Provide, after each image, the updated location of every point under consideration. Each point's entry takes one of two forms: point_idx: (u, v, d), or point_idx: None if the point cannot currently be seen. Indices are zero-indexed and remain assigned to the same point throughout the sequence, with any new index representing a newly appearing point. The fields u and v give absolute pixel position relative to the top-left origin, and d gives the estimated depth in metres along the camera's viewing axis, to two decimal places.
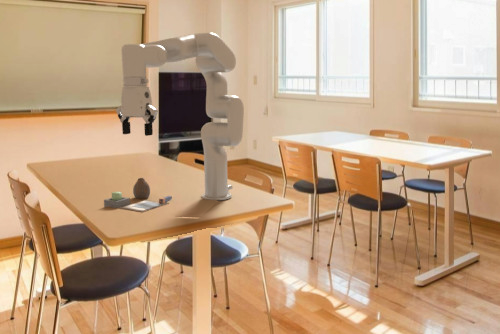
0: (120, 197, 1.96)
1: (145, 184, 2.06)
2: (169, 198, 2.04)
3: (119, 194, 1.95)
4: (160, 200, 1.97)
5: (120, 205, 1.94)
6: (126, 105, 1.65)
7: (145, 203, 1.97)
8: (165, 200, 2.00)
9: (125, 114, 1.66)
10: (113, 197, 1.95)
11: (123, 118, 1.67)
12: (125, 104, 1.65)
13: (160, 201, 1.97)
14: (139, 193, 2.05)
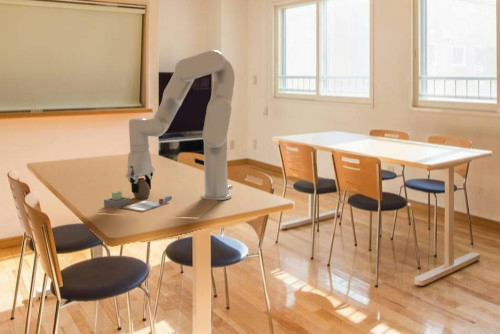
0: (120, 197, 1.96)
1: (145, 184, 2.06)
2: (169, 198, 2.04)
3: (119, 194, 1.95)
4: (160, 200, 1.97)
5: (120, 205, 1.94)
6: (141, 167, 2.04)
7: (145, 203, 1.97)
8: (165, 200, 2.00)
9: (139, 174, 2.04)
10: (113, 197, 1.95)
11: (136, 179, 2.04)
12: (140, 166, 2.03)
13: (160, 201, 1.97)
14: (139, 193, 2.05)
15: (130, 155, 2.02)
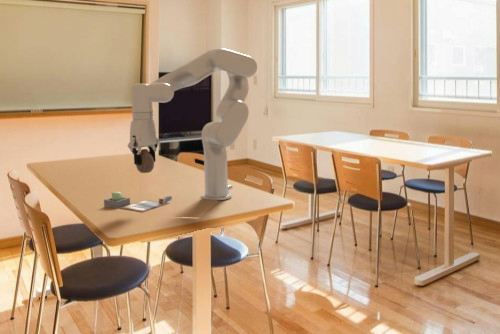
0: (120, 197, 1.96)
1: (148, 155, 1.90)
2: (169, 198, 2.04)
3: (119, 194, 1.95)
4: (160, 200, 1.97)
5: (120, 205, 1.94)
6: (144, 136, 1.87)
7: (145, 203, 1.97)
8: (165, 200, 2.00)
9: (142, 145, 1.87)
10: (113, 197, 1.95)
11: (139, 150, 1.87)
12: (143, 136, 1.87)
13: (160, 201, 1.97)
14: (142, 165, 1.89)
15: (132, 123, 1.86)
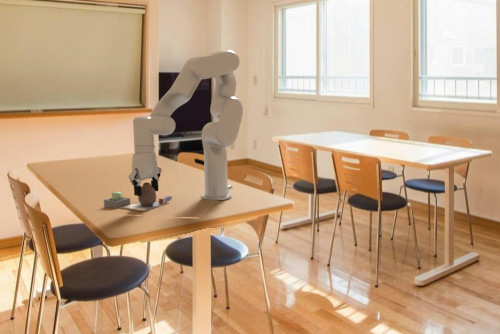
0: (120, 197, 1.96)
1: (151, 189, 1.92)
2: (169, 198, 2.04)
3: (119, 194, 1.95)
4: (160, 200, 1.97)
5: (120, 205, 1.94)
6: (146, 169, 1.89)
7: None
8: (165, 200, 2.00)
9: (144, 177, 1.89)
10: (113, 197, 1.95)
11: (140, 182, 1.88)
12: (145, 168, 1.88)
13: (160, 201, 1.97)
14: (145, 199, 1.90)
15: (134, 156, 1.87)
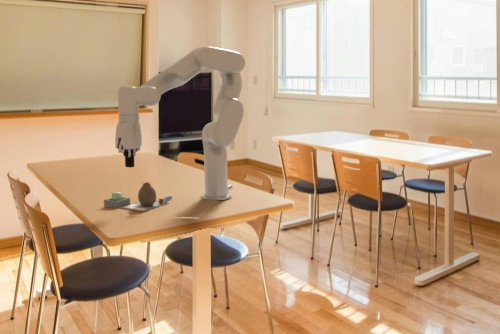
0: (120, 197, 1.96)
1: (151, 189, 1.92)
2: (169, 198, 2.04)
3: (119, 194, 1.95)
4: (160, 200, 1.97)
5: (120, 205, 1.94)
6: (130, 139, 1.88)
7: None
8: (165, 200, 2.00)
9: (127, 147, 1.88)
10: (113, 197, 1.95)
11: (129, 152, 1.90)
12: (129, 138, 1.87)
13: (160, 201, 1.97)
14: (145, 199, 1.90)
15: (118, 125, 1.86)
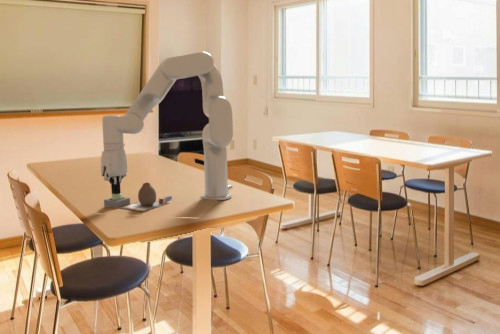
0: (120, 198, 1.96)
1: (151, 189, 1.92)
2: (169, 198, 2.04)
3: (119, 195, 1.95)
4: (160, 200, 1.97)
5: (120, 205, 1.94)
6: (115, 167, 1.91)
7: None
8: (165, 200, 2.00)
9: (113, 175, 1.91)
10: (113, 198, 1.95)
11: (115, 179, 1.94)
12: (114, 166, 1.91)
13: (160, 201, 1.97)
14: (145, 199, 1.90)
15: (103, 154, 1.90)
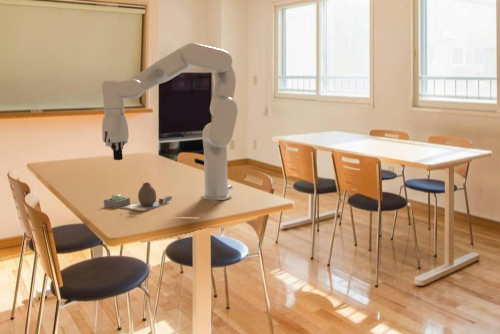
0: (120, 199, 1.96)
1: (151, 189, 1.92)
2: (169, 198, 2.04)
3: (119, 196, 1.95)
4: (160, 200, 1.97)
5: (120, 205, 1.94)
6: (116, 132, 1.91)
7: None
8: (165, 200, 2.00)
9: (114, 140, 1.91)
10: (113, 199, 1.95)
11: (117, 145, 1.93)
12: (115, 131, 1.91)
13: (160, 201, 1.97)
14: (145, 199, 1.90)
15: (104, 119, 1.89)
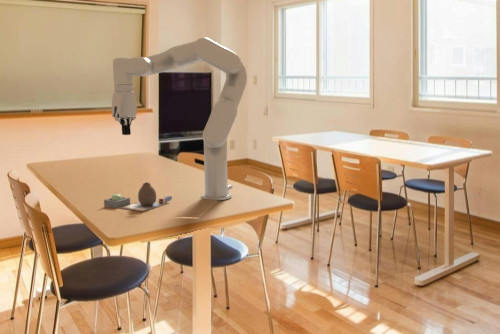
0: (120, 199, 1.96)
1: (151, 189, 1.92)
2: (169, 198, 2.04)
3: (119, 196, 1.95)
4: (160, 200, 1.97)
5: (120, 205, 1.94)
6: (125, 107, 1.99)
7: None
8: (165, 200, 2.00)
9: (123, 115, 1.99)
10: (113, 199, 1.95)
11: (125, 120, 2.01)
12: (124, 107, 1.99)
13: (160, 201, 1.97)
14: (145, 199, 1.90)
15: (114, 95, 1.97)
